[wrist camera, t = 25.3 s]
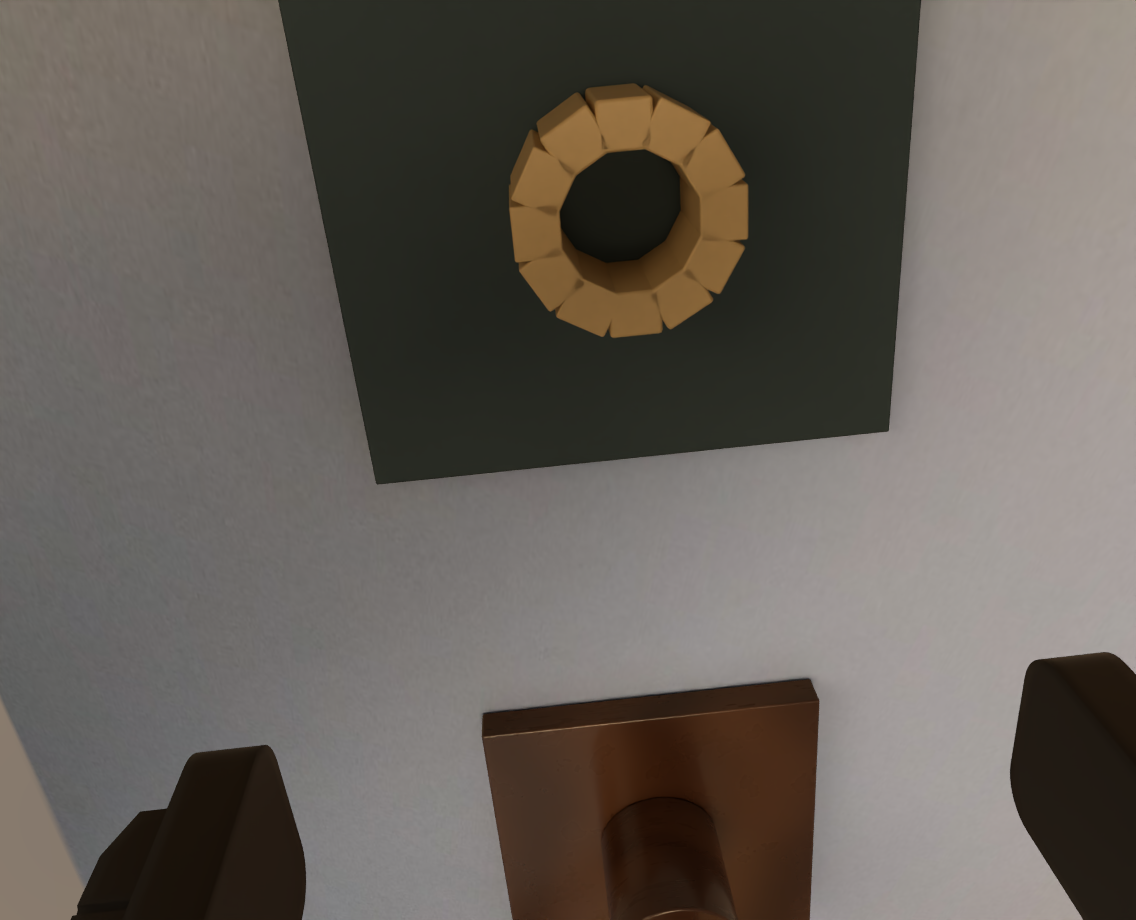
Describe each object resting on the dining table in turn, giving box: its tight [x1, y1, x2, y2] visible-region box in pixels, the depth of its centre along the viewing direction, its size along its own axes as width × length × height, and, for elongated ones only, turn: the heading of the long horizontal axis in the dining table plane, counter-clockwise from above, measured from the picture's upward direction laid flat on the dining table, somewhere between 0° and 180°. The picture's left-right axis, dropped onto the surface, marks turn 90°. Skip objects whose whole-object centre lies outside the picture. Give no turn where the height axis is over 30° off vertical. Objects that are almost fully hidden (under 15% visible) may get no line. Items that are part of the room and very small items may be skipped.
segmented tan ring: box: [509, 83, 748, 338], centre depth 24 cm, size 6×6×3 cm
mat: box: [278, 0, 921, 484], centre depth 26 cm, size 16×16×1 cm
